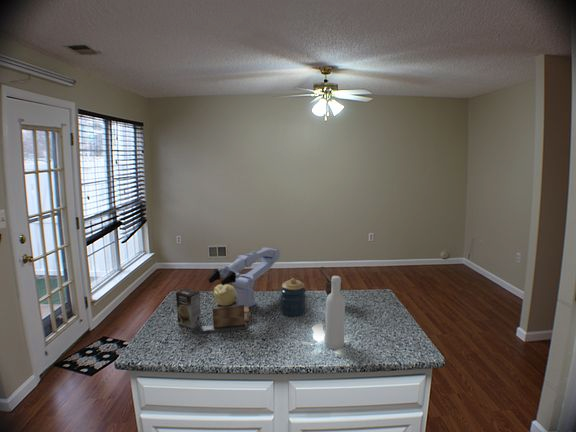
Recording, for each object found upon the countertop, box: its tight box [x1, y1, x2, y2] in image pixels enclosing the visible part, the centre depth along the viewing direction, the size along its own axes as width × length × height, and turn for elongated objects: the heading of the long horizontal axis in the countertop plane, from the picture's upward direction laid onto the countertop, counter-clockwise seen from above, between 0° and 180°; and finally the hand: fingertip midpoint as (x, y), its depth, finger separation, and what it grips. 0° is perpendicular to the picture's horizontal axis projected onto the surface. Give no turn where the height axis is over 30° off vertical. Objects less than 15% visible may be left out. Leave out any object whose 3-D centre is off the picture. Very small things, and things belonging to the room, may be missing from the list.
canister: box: [279, 277, 307, 318], centre depth 170 cm, size 13×13×18 cm
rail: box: [192, 321, 248, 335], centre depth 154 cm, size 24×4×1 cm, turn 100°
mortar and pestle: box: [319, 266, 343, 296], centre depth 178 cm, size 12×9×20 cm
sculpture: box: [213, 283, 236, 307], centre depth 179 cm, size 11×12×11 cm
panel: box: [212, 305, 246, 327], centre depth 154 cm, size 14×2×9 cm, turn 100°
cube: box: [244, 307, 250, 322], centre depth 163 cm, size 5×5×5 cm
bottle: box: [324, 275, 346, 350], centre depth 139 cm, size 8×8×30 cm
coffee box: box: [175, 287, 202, 329], centre depth 158 cm, size 9×6×16 cm
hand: (215, 282), depth 156 cm, fingers open, 7 cm apart
